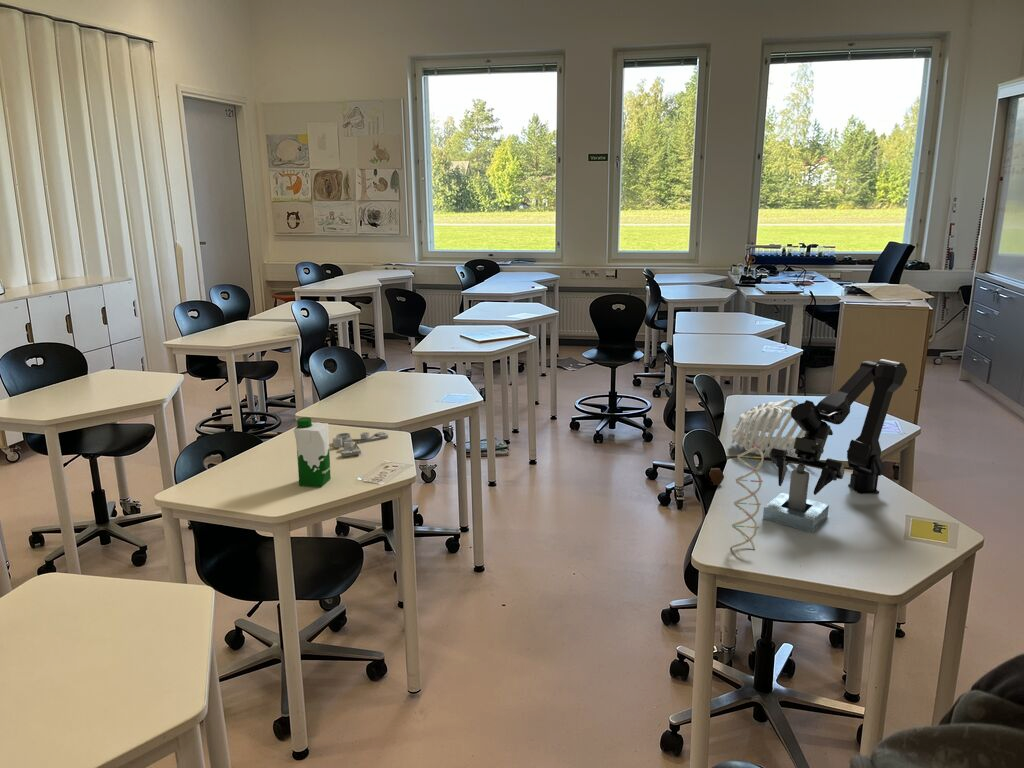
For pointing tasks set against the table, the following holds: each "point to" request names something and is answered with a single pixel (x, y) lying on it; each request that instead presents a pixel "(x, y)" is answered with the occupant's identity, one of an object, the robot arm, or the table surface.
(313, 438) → the milk carton
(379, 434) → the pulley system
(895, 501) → the table surface
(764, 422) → the rib cage
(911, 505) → the table surface
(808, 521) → the grey square frame
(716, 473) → the bolt
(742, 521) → the dna model
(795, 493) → the plug
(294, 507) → the table surface
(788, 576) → the table surface
